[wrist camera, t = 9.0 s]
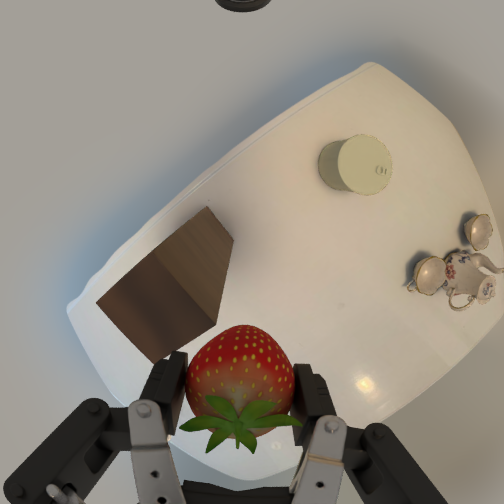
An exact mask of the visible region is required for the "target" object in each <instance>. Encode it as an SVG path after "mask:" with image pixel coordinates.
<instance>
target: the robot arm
mask: <svg viewBox="0 0 504 504" xmlns="http://www.w3.org/2000/svg"><path fill="white" fill-rule="evenodd" d="M228 1H231V2H235V3H250V2H254V1H257V0H228ZM187 368H188V353H185V352H179V351H172V353H171V355H170V358H169V360H167V359H160V360H159V361H157V362H156V363H155V364H154V366H153V368H152V370H151V373H150V375H149V378H148V379H147V382H146V384H145V386H144V389H143V391H142V393H141V396H140V398H139V400H136V401H134V402H132V403H131V404H130V405H129V407H125V408H109V406H108V404H107V403H106V402H105V401H103V400H101V399H98V398H90V399H87V400H85V401H83V402H82V403H81V404H80V405H79V406H78V407H77V408H76V409H75V410H74V411H73V412H72V413H71V414H70V415H69V416H68V417H67V418H66V419H65V420H64V421H63V422H62V423H61V424H60V425H59V426H58V427H57V428H56V429H55V430H54V431H53V432H52V434H50V435H49V436H48V437H47V438H46V439H45V440H44V441H43V442H42V444H41V445H40V446H39V447H38V448H37V449H36V450H35V451H34V452H33V453H32V454H31V455H30V456H29V457H28V458H27V459H26V460H25V461H24V462H23V463H22V464H21V465H20V466H19V467H18V468H17V469H16V470H15V471H14V472H13V473H12V474H11V476H10V477H9V478H8V479H7V480H6V481H5V483H4V486H3V490H4V494H5V497H6V498H7V500H8V501H9V502H10V503H11V504H85V503H84V499H85V498H86V497H87V495H88V494H89V493H90V491H91V490H92V488H93V487H94V486H95V485H96V483H97V482H98V480H99V479H100V478H101V476H102V475H103V474H104V472H105V471H106V470H107V468H108V467H109V466H110V464H111V463H112V461H113V460H114V459H115V457H116V456H117V455H118V453H119V452H120V451H131V459H132V465H133V471H134V477H135V483H136V488H137V493H138V498H139V503H137V504H336V502H337V498H338V494H339V489H340V485H341V480H342V476H343V471H344V469H345V471H346V473H347V475H348V476H349V478H350V480H351V482H352V484H353V485H354V487H355V489H356V490H357V492H358V494H359V496H360V497H361V499H362V501H363V502H364V504H448V503H447V501H446V500H445V499H444V498H443V496H442V495H441V494H440V492H439V491H438V490H437V489H436V487H435V486H434V485H433V483H432V482H431V481H430V480H429V478H428V477H427V476H426V474H425V473H424V472H423V471H422V469H421V468H420V467H419V465H418V464H417V463H416V461H415V460H414V459H413V458H412V456H411V455H410V454H409V452H408V451H407V450H406V449H405V447H404V446H403V445H402V443H401V442H400V441H399V440H398V438H397V437H396V436H395V434H394V433H393V432H392V430H391V429H390V428H389V427H387V426H386V425H384V424H382V423H372V424H369V425H368V426H367V427H366V428H365V429H359V428H353V427H349V426H347V425H346V423H345V421H344V420H342V419H341V418H339V417H337V415H336V412H335V408H334V405H333V402H332V399H331V396H330V395H329V394H330V393H329V390H328V387H327V384H326V381H325V380H324V379H323V378H322V377H321V375H320V374H313V372H312V369H311V366H310V364H294V366H293V372H294V377H295V394H294V401H293V404H292V406H291V409H290V416H292V417H294V418H295V419H297V420H298V421H299V422H300V423H301V424H302V425H303V426H302V427H301V426H295V425H292V428H293V435H294V441H295V446H302V447H303V452H302V454H301V457H300V460H299V463H298V465H297V469H296V471H295V474H294V476H293V479H292V482H291V484H290V486H289V487H261V488H256V489H250V490H243V491H233V490H230V489H226V488H223V487H219V486H216V485H213V484H210V483H202V482H194V481H188V480H184V482H183V485H181V486H180V482H179V479H178V476H177V472H176V469H175V466H174V462H173V458H172V455H171V451H170V447H169V445H168V441H167V437H168V435H173V436H174V435H175V431H176V427H177V423H178V419H179V415H180V411H181V407H182V403H183V399H184V395H185V384H184V383H185V376H186V371H187Z"/></svg>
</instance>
